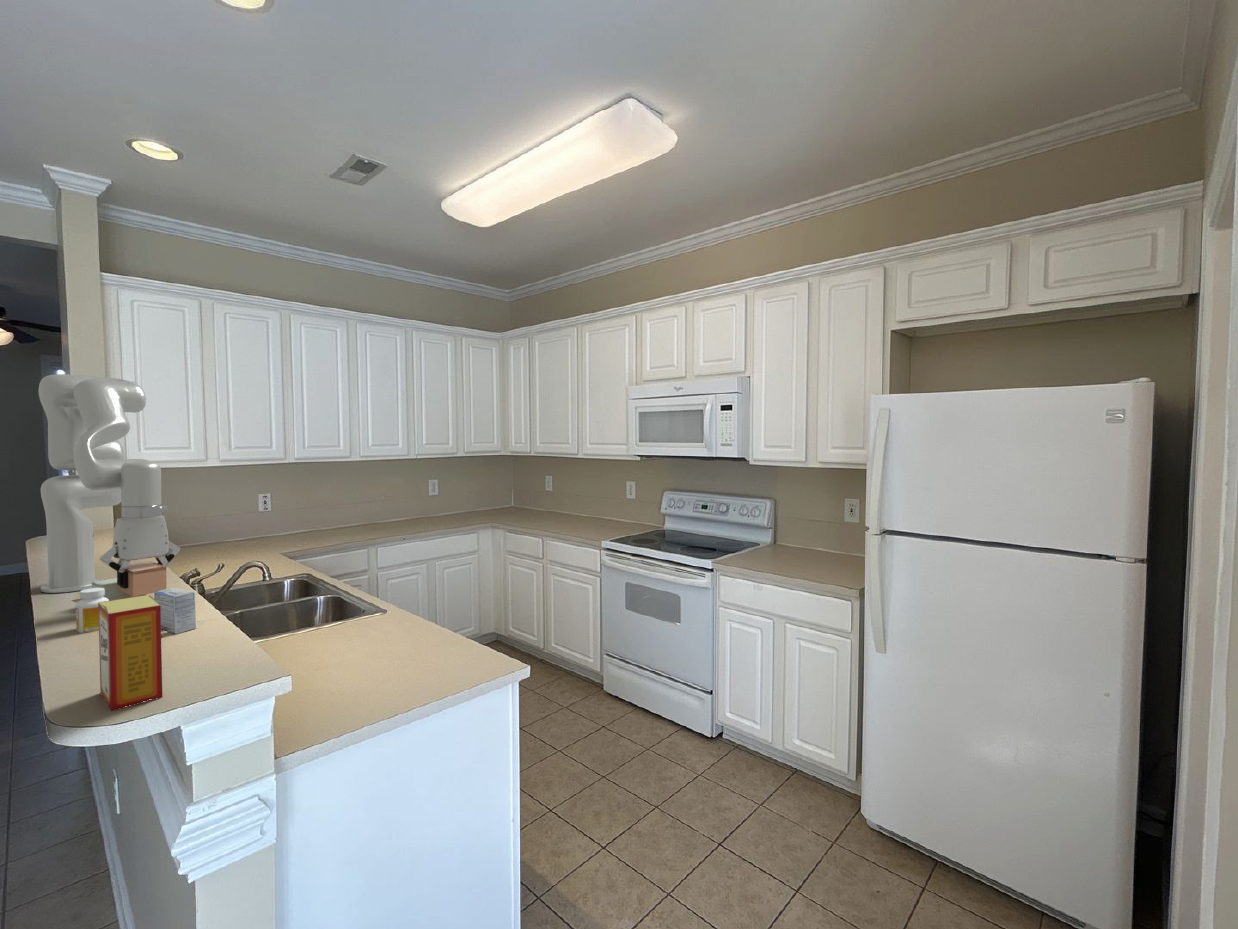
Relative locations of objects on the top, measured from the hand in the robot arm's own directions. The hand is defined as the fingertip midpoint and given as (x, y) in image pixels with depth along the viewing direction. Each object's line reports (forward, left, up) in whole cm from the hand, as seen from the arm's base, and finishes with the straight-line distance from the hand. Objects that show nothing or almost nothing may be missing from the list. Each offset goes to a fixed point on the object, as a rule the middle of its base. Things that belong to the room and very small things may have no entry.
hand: (142, 583), depth 142 cm
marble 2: (+2, 0, -6) cm, 6 cm away
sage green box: (-8, -3, -6) cm, 10 cm away
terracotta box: (0, 0, -2) cm, 2 cm away
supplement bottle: (+10, -12, -7) cm, 18 cm away
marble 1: (-1, 0, -6) cm, 6 cm away
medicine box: (+21, -1, -7) cm, 22 cm away
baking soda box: (+53, -20, -7) cm, 57 cm away
